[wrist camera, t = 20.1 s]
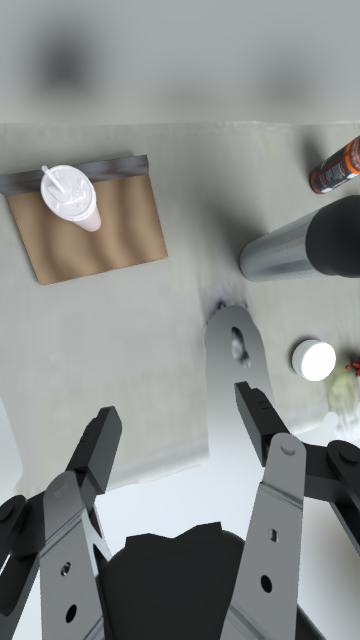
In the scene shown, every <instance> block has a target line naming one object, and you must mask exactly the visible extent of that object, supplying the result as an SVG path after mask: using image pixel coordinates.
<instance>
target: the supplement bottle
mask: <svg viewBox="0 0 360 640" xmlns="http://www.w3.org/2000/svg"><path fill="white" fill-rule="evenodd" d="M358 175H360V136H358V137H357V138H355V139H354V140H353V141H351V142H350V143H348V144H347V145H346V146H344V147H343V148H342V149H340V150H339V151H338V152H336V153H335V154H334V155H332V156H331V157H329V158H328V159H327V160H325V161H324V162H323V163H321V164H320V165H319V166H318V167H316V168H315V170H314V171H313V173H312V175H311V185H312V188H313V190H314V191H315V192H317V193H319V194H325V193H327V192H329V191H331V190H333V189H334V188H336V187H338V186H340V185H342V184H343V183H345V182H347V181H349V180H351V179H352V178H354V177H356V176H358Z"/></svg>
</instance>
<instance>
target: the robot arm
mask: <svg viewBox="0 0 360 640" xmlns="http://www.w3.org/2000/svg"><path fill="white" fill-rule="evenodd" d="M240 267H241V271H242V273H243V274H244V276H245V277H246V278H247V279H249V280H251V281H253V282H265V281H278V280H289V279H301V278H312V277H323V276H335V275H339V276H343V277H348V278H360V195H352V196H348V197H344V198H342V199H339V200H337V201H335V202H333V203H331V204H329V205H327V206H325V207H322V208H320V209H318V210H316V211H314V212H312V213H310V214H308V215H306V216H304V217H302V218H300V219H298V220H296V221H293V222H291V223H289V224H287V225H285V226H283V227H281V228H279V229H277V230H275V231H273V232H271V233H268V234H266V235H264V236H262V237H260V238H258V239H256V240H254V241H252V242H250V243H249V244H247V245H246V246H245V248H244V249H243V251H242V253H241V256H240ZM234 385H235V393H236V402H237V406H238V410H239V412H240V415H241V417H242V419H243V422H244V424H245V427H246V429H247V431H248V434H249V436H250V439H251V441H252V443H253V445H254V448H255V451H256V453H257V455H258V458H259V460H260V462H261V465H262V467H265V471H264V476H263V480H262V482H260V484H259V487H258V490H257V494H256V499H255V503H254V507H253V511H252V516H251V520H250V524H249V529H248V533H247V537H246V541H244V540H243V539H242V538H240V537H239V536H237V535H235V534H234V533H231V532H229V531H225V530H222V527H221V522H214V523H208V524H202V525H197V526H195V527H193V528H191V529H190V530H188V531H186V532H184V533H183V534H181V535H179V536H177V537H175V538H167V537H163V536H159V535H155V534H150V533H147V534H141V535H136V536H129V537H126V543H125V547H124V548H123V549H121V550H120V551H119V552H117V553H116V554H115V555H114V556H113V557H112V555H111V553H110V550H109V548H108V546H107V543H106V541H105V537H104V534H103V530H102V527H101V524H100V520H99V516H98V513H97V510H96V506H95V504H94V502H95V498H96V495H101V494H105V490H106V487H107V483H108V480H109V476H110V472H111V469H112V465H113V462H114V458H115V454H116V451H117V447H118V444H119V440H120V436H121V433H122V423H121V420H120V418H119V416H118V414H117V411H116V409H115V407H114V406H110V407H104V408H101V409H100V411H99V413H98V415H97V417H96V418H93V419H92V421H91V422H90V423H89V424H88V425H87V427H86V429H85V431H84V433H83V436H82V437H81V439H80V441H79V443H78V445H77V447H76V449H75V451H74V453H73V456H72V458H71V460H70V462H69V464H68V466H67V468H66V470H65V472H63V473H61V474H60V475H58V476H57V477H56V478H55V479H54V480H53V481H52V482H51V483H50V484H49V486H48V487H47V489H46V490H45V491H43V492H41V493H40V494H38V495H36V496H34V497H32V498H30V499H28V500H27V499H26V498H25V497H24V496H23V495H17V496H14V497H12V498H11V499H9V500H7V501H6V502H5V503H4V504H2V505H1V506H0V570H1V568H2V566H3V564H4V562H5V560H6V558H7V556H8V555H9V554H10V557H9V559H8V561H7V563H6V566H5V567H4V570H3V571H2V573H1V575H0V640H12V637H13V635H14V632H15V629H16V627H17V624H18V622H19V619H20V617H21V614H22V611H23V609H24V606H25V603H26V601H27V598H28V596H29V593H30V591H31V588H32V585H33V583H34V580H35V578H36V575H37V572H38V570H39V567H40V590H41V619H42V640H326V638H325V637H324V636H323V635H322V633H321V632H320V631H319V630H318V629H317V627H316V626H315V625H314V624H313V622H312V621H311V620H310V619H309V617H308V616H307V615H306V614H305V613H304V611H303V610H302V609H301V608H300V606H299V605H298V604H297V597H298V581H299V565H300V548H301V533H302V517H303V499H304V496H305V497H310V498H314V499H318V500H323V501H327V502H329V503H330V505H331V507H332V509H333V511H334V512H335V514H336V516H337V517H338V519H339V521H340V523H341V525H342V526H343V528H344V530H345V531H346V533H347V535H348V537H349V538H350V540H351V542H352V544H353V545H354V547H355V549H356V550H357V552H358V554H359V556H360V449H359V448H358V447H357V446H355V445H353V444H351V443H349V442H346V441H342V440H334V441H331V442H329V444H328V446H327V447H324V446H317V445H310V444H306V443H304V442H301V441H300V440H299V439H298V438H296V437H295V436H293V435H292V434H291V433H290V432H289V431H288V429H287V428H286V426H285V425H284V423H283V422H282V420H281V418H280V417H279V415H278V414H277V412H276V411H275V409H274V408H273V406H272V405H271V403H270V402H269V400H268V399H267V397H266V395H265V394H264V393H263V392H262V391H260V390H259V389H258V388H254V389H251V388H250V387H249V385H248V383H247V382H246V381H244V382H239V383H235V384H234Z"/></svg>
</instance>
